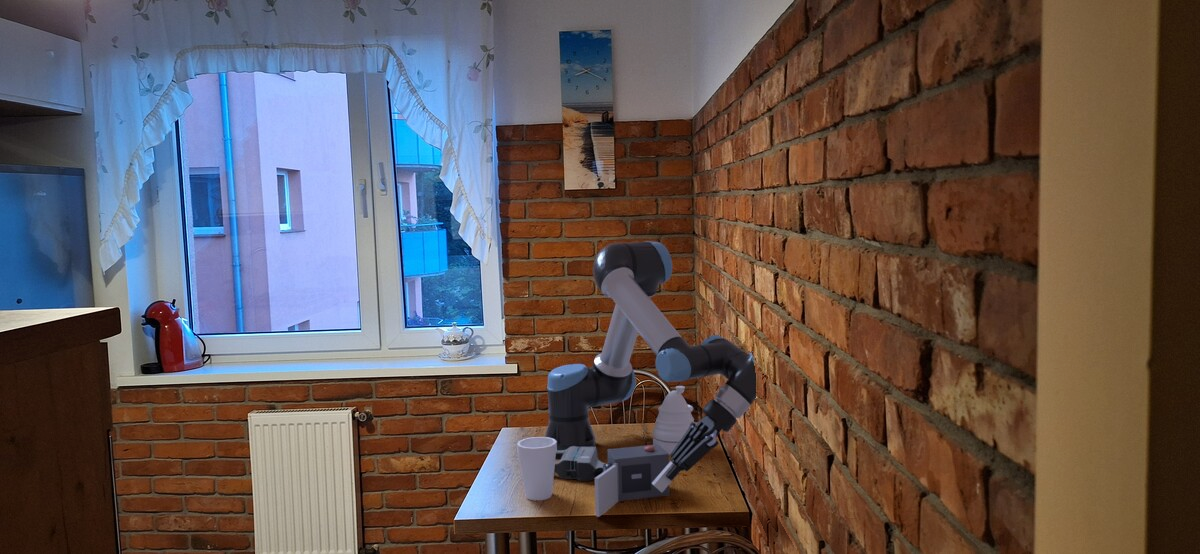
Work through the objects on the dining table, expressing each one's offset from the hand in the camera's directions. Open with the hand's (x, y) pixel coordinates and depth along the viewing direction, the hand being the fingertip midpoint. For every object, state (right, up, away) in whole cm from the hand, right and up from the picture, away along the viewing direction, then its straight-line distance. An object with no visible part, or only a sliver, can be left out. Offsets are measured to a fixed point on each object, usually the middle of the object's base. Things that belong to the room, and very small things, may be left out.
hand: (656, 487), depth 163 cm
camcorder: (-20, -4, +29) cm, 35 cm away
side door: (-11, -5, +1) cm, 12 cm away
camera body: (-3, -4, +12) cm, 13 cm away
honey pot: (+9, -2, +46) cm, 47 cm away
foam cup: (-27, -5, +12) cm, 30 cm away
